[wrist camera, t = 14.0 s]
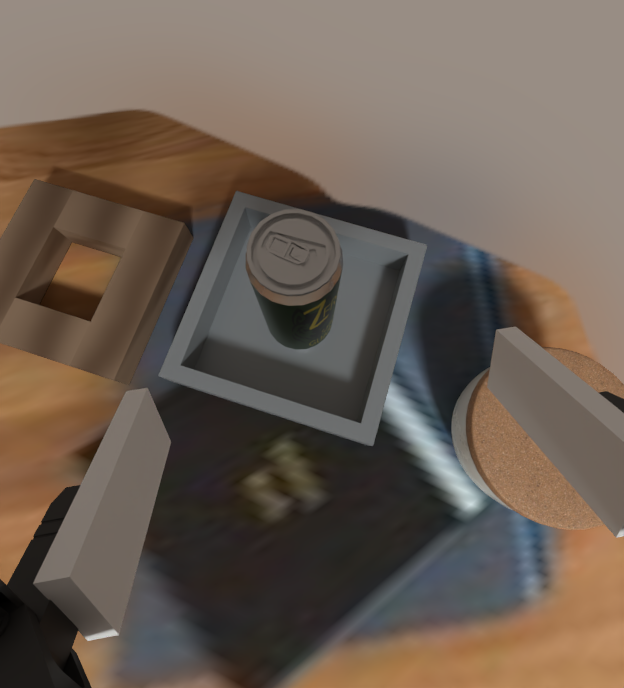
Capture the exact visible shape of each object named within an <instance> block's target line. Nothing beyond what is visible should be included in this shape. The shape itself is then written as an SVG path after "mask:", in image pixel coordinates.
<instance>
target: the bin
mask: <svg viewBox="0 0 624 688" xmlns="http://www.w3.org/2000/svg"><path fill="white" fill-rule="evenodd" d="M288 209H298V208H295V207H291V206H288V205H284V204H281V203H277V202H274V201H270V200H267V199H263V198H260V197H256V196H253V195H249V194H246V193H242V192H239V191H236V193H235V195H234V197H233V200H232V202H231V204H230V207H229V209H228V212H227V214H226V216H225V219H224V221H223V223H222V226H221V228H220V231H219V233H218V235H217V238H216V240H215V242H214V245H213V247H212V250H211V252H210V254H209V257H208V259H207V261H206V264H205V266H204V269H203V271H202V273H201V276H200V278H199V280H198V283H197V285H196V288H195V290H194V292H193V295H192V297H191V299H190V302H189V304H188V307H187V309H186V311H185V314H184V316H183V318H182V321H181V323H180V326H179V328H178V330H177V333H176V335H175V337H174V340H173V342H172V345H171V347H170V349H169V352H168V354H167V356H166V359H165V361H164V364H163V366H162V368H161V371H160V373H159V375H158V376H160V377H162V378H165V379H167V380H170V381H172V382H175V383H177V384H180V385H183V386H186V387H189V388H192V389H196V390H199V391H202V392H205V393H208V394H211V395H214V396H217V397H220V398H223V399H226V400H229V401H232V402H235V403H238V404H241V405H245V406H248V407H251V408H254V409H257V410H260V411H263V412H266V413H269V414H272V415H275V416H278V417H281V418H284V419H287V420H291V421H294V422H297V423H300V424H303V425H306V426H309V427H312V428H315V429H318V430H321V431H324V432H327V433H330V434H333V435H336V436H340V437H343V438H346V439H349V440H352V441H355V442H358V443H361V444H364V445H370V446H373V444H374V440H375V437H376V433H377V429H378V426H379V422H380V418H381V414H382V411H383V407H384V403H385V400H386V396H387V392H388V389H389V385H390V381H391V377H392V374H393V370H394V366H395V363H396V359H397V355H398V351H399V348H400V344H401V340H402V337H403V333H404V329H405V326H406V322H407V318H408V314H409V311H410V307H411V303H412V300H413V296H414V292H415V289H416V285H417V281H418V277H419V274H420V270H421V266H422V263H423V259H424V255H425V252H426V248H427V245H425V244H422V243H418V242H415V241H411V240H408V239H404V238H400V237H397V236H393V235H390V234H386V233H383V232H379V231H376V230H372V229H369V228H365V227H362V226H358V225H355V224H351V223H348V222H344V221H341V220H337V219H334V218H330V217H327V216H323V215H320V214H316V213H315V214H316V215H318V216H320V217H321V218H323V219H325V220H326V221H327V222H328V223H329V225H330V226H331V227H332V228H333V229H334V231H335V233H336V235H337V237H338V240H339V242H340V246H341V249H342V254H343V269H342V274H341V279H340V285H339V290H338V296H337V301H336V306H335V312H334V317H333V322H332V326H331V329H330V332H329V333H328V335H327V336H326V337H325V339H324V340H323V341H321V342H320V343H319V344H317V345H316V346H313V347H311V348H308V349H297V350H295V349H292V348H288V347H285V346H283V345H282V344H280V343H279V342H277V341H276V340H275V338H274V337H273V336H272V335H271V333H270V331H269V328H268V326H267V323H266V321H265V318H264V316H263V313H262V310H261V308H260V305H259V303H258V300H257V298H256V295H255V292H254V290H253V287H252V285H251V282H250V279H249V277H248V274H247V271H246V252H247V243H248V240H249V238H250V235H251V232H252V231H253V230H254V229H255V227H256V226H257V225H258V223H259V222H260V221H262V220H263V219H265V218H266V217H268V216H269V215H271V214H273V213H276V212H279V211H282V210H288ZM301 210H302V209H301Z"/></svg>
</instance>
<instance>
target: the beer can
mask: <svg viewBox="0 0 624 688" xmlns="http://www.w3.org/2000/svg"><path fill="white" fill-rule="evenodd" d="M342 269H343V254H342V249H341V246H340V242H339V240H338V237H337V235H336V233H335V231H334V229H333V228H332V227H331V226H330V225H329V223H328V222H327V221H326V220H325V219H323V218H321V217H320V216H318V215H316V214H315V213H313V212H309V211H305V210H301V209H288V210H282V211H279V212H276V213H273V214H271V215H269V216H268V217H266V218H265V219H263V220H262V221H260V222H259V223H258V225H257V226H256V227H255V229H254V230H253V231H252V232H251V235H250V238H249V240H248V243H247V252H246V271H247V274H248V277H249V279H250V282H251V285H252V287H253V290H254V292H255V295H256V298H257V300H258V303H259V305H260V308H261V310H262V313H263V316H264V318H265V321H266V323H267V326H268V328H269V331H270V333H271V335H272V336H273V337H274V338H275V340H276V341H277V342H279V343H280V344H282V345H283V346H285V347H288V348H292V349H295V350H297V349H308V348H311V347H313V346H316V345H317V344H319V343H320V342H321V341H323V340H324V339H325V337H326V336H327V335H328V333H329V332H330V329H331V326H332V322H333V317H334V312H335V306H336V301H337V296H338V290H339V285H340V279H341V274H342Z"/></svg>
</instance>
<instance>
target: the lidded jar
mask: <svg viewBox="0 0 624 688" xmlns="http://www.w3.org/2000/svg"><path fill="white" fill-rule="evenodd" d="M543 349H544V350H546V351H547V352H548V353H549V354H551V355H552V356H553V357H554V358H556V359H557V360H558V361H559V362H561V363H562V364H563V365H564V366H566V367H567V368H568V369H569V370H571V371H572V372H573V373H574V374H576V375H577V376H578V377H579V378H581V379H582V380H583V381H584V382H586V383H587V384H588V385H589V386H591V387H592V388H593V389H594V390H596V391H597V392H598V393H599V392H604V391H608V392H610V393H612V394H614V395H616V396H619V397H621V398H623V399H624V385H623V384H622V383H621V381H620V380H619V379H618V378H617V377H616V376H615V375H614V374H613V373H611V372H610V371H609V370H607V369H606V368H605V367H603V366H602V365H601V364H599V363H597V362H596V361H594V360H592V359H590V358H589V357H586V356H584V355H581V354H579V353H576V352H573V351H569V350H565V349H560V348H551V347H545V348H543ZM489 371H490V367H489V368H487V369H486V370H484V371H483V372H481V373H480V374H479V375H478V376H476V377H475V378H474V379H473V380H472V381H471V382H470V383H469V384H468V385H467V387H466V388H465V389H464V390H463V392H462V393H461V395H460V397H459V398H458V400H457V402H456V405H455V408H454V411H453V416H452V424H451V433H452V441H453V445H454V449H455V452H456V455H457V457H458V460H459V462H460V464H461V466H462V467H463V469H464V470H465V472H466V473H467V475H468V476H469V477H470V478H471V480H472V481H473V482H474V483H475V484H476V485H477V486H478V487H479V488H480V489H481V490H482V491H483V492H485V493H486V494H487V495H488V496H490V497H491V498H492V499H494V500H496V501H497V502H499V503H500V504H502V505H503V506H505V507H507V508H509V509H511V510H513V511H516V512H517V513H519V514H520V515H522V516H524V517H526V518H529V519H531V520H533V521H535V522H538V523H540V524H543V525H547V526H550V527H554V528H559V529H567V530H581V529H589V528H593V527H598V526H601V525H603V524H604V523H603V522H602V520H601V519H600V518H599V517H598V516H597V515H596V513H595V512H594V511H593V510H592V509H591V508H590V506H589V505H588V504H587V503H586V502H585V501H584V499H583V498H582V497H581V496H580V495H579V494H578V492H577V491H576V490H575V489H574V488H573V487H572V485H571V484H570V483H569V482H568V481H567V480H566V478H565V477H564V476H563V475H562V474H561V473H560V471H559V470H558V469H557V468H556V467H555V466H554V464H553V463H552V462H551V461H550V460H549V459H548V458H547V456H546V455H545V454H544V453H543V452H542V451H541V449H540V448H539V447H538V446H537V445H536V444H535V442H534V441H533V440H532V439H531V438H530V437H529V435H528V434H527V433H526V432H525V431H524V430H523V428H522V427H521V426H520V425H519V424H518V423H517V421H516V420H515V419H514V418H513V417H512V416H511V414H510V413H509V412H508V411H507V410H506V409H505V407H504V406H503V405H502V404H501V403H500V402H499V400H498V399H497V398H496V397H495V396H494V395H493V393H492V392H491V391H490V390H489V389H488V388H487V384H488V378H489Z"/></svg>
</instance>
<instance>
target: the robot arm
mask: <svg viewBox="0 0 624 688" xmlns="http://www.w3.org/2000/svg"><path fill="white" fill-rule="evenodd" d="M487 388H488V389H489V390H490V391H491V392H492V393H493V395H494V396H495V397H496V398H497V399H498V400H499V402H500V403H501V404H502V405H503V406H504V407H505V409H506V410H507V411H508V412H509V413H510V414H511V416H512V417H513V418H514V419H515V420H516V421H517V423H518V424H519V425H520V426H521V427H522V428H523V430H524V431H525V432H526V433H527V434H528V435H529V437H530V438H531V439H532V440H533V441H534V442H535V444H536V445H537V446H538V447H539V448H540V449H541V451H542V452H543V453H544V454H545V455H546V456H547V458H548V459H549V460H550V461H551V462H552V463H553V464H554V466H555V467H556V468H557V469H558V470H559V471H560V473H561V474H562V475H563V476H564V477H565V478H566V480H567V481H568V482H569V483H570V484H571V485H572V487H573V488H574V489H575V490H576V491H577V492H578V494H579V495H580V496H581V497H582V498H583V499H584V501H585V502H586V503H587V504H588V505H589V506H590V508H591V509H592V510H593V511H594V512H595V513H596V515H597V516H598V517H599V518H600V519H601V520H602V522H603V523H604V524H605V525H606V526H607V527H608V529H609V530H610V531H611V532H612V533H613V534H614V536H615V537H616V538H617V537H622V536H624V399H623V398H621V397H619V396H616V395H614V394H612V393H610V392H608V391H604V392H599V393H598V392H597V391H596V390H594V389H593V388H592V387H591V386H589V385H588V384H587V383H586V382H584V381H583V380H582V379H581V378H579V377H578V376H577V375H576V374H574V373H573V372H572V371H571V370H569V369H568V368H567V367H566V366H564V365H563V364H562V363H561V362H559V361H558V360H557V359H556V358H554V357H553V356H552V355H551V354H549V353H548V352H547V351H546V350H544V349H543V348H542V347H541V346H539V345H538V344H537V343H536V342H534V341H533V340H532V339H531V338H529V337H528V336H527V335H526V334H524V333H523V332H522V331H521V330H519V329H518V328H517V327H516V326H515V327H509V328H503V329H497V330H496V334H495V340H494V346H493V353H492V359H491V365H490V371H489V378H488V384H487ZM170 444H171V441H170V438H169V436H168V434H167V432H166V429H165V427H164V425H163V422H162V420H161V418H160V415H159V413H158V411H157V409H156V406H155V404H154V402H153V399H152V397H151V395H150V392H149V390H148V388H143V389H137V390H131V391H126V393H125V395H124V397H123V399H122V401H121V403H120V405H119V407H118V409H117V411H116V413H115V415H114V417H113V420H112V422H111V424H110V426H109V428H108V430H107V432H106V434H105V436H104V438H103V440H102V442H101V444H100V446H99V448H98V450H97V452H96V455H95V457H94V459H93V461H92V463H91V465H90V467H89V469H88V471H87V473H86V475H85V477H84V479H83V481H82V483H81V485H78V486H72V487H67V488H65V489H64V490H63V491H62V492H61V494H60V495H59V496H58V497H57V498H56V499H55V500H54V501H53V502H52V503H51V505H50V506H49V508H48V510H47V512H46V514H45V516H44V518H43V519H42V521H41V522H42V524H41V525H39V527H38V529H37V530H36V532H35V534H34V539H33V540H31V542H30V543H29V545H28V547H27V549H26V551H25V553H24V555H23V556H22V558H21V560H20V562H19V564H18V566H17V568H16V569H15V571H14V573H13V575H12V577H11V579H10V581H9V582H8V584H7V585H6V584H5V583H4V582H3V581H2V580H1V579H0V688H91V686H90V683H89V681H88V679H87V676H86V674H85V672H84V669H83V667H82V665H81V662H80V660H79V658H78V656H77V653H76V652H75V651H74V650H73V649H72V646H73V643H74V640H75V637H76V635H77V632H78V631H79V632H80V633H81V634H82V635H83V636H84V637H85V638H86V639H87V640H88V641H90V640H95V639H100V638H105V637H110V636H115V635H119V633H120V629H121V625H122V622H123V618H124V614H125V611H126V607H127V603H128V599H129V596H130V592H131V588H132V585H133V581H134V577H135V574H136V570H137V566H138V562H139V559H140V555H141V551H142V548H143V544H144V540H145V536H146V533H147V529H148V525H149V522H150V518H151V514H152V510H153V507H154V503H155V499H156V496H157V492H158V488H159V485H160V481H161V477H162V473H163V470H164V466H165V462H166V459H167V455H168V451H169V447H170Z"/></svg>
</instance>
